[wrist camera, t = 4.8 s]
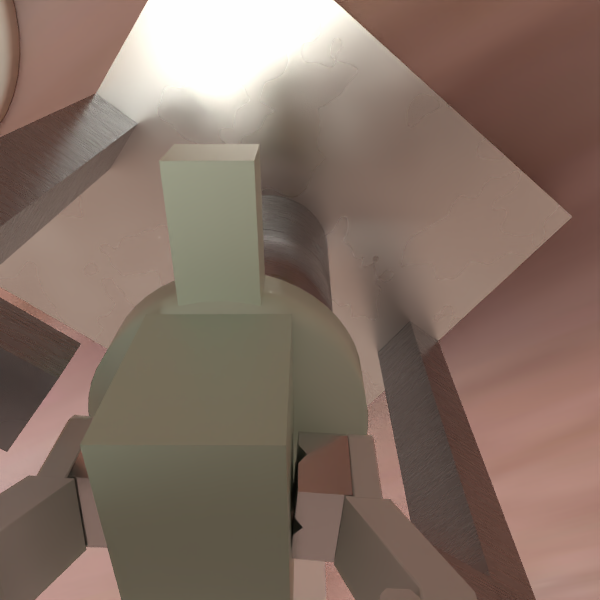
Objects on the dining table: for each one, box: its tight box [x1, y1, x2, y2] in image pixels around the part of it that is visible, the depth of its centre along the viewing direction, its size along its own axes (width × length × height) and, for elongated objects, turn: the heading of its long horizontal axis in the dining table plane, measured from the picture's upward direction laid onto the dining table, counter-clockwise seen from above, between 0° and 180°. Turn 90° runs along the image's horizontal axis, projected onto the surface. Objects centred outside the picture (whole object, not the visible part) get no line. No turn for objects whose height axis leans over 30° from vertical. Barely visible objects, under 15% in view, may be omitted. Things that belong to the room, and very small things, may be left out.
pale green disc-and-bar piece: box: [80, 144, 368, 600], centre depth 11 cm, size 6×11×5 cm, turn 0°
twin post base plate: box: [0, 0, 572, 600], centre depth 16 cm, size 16×16×14 cm
